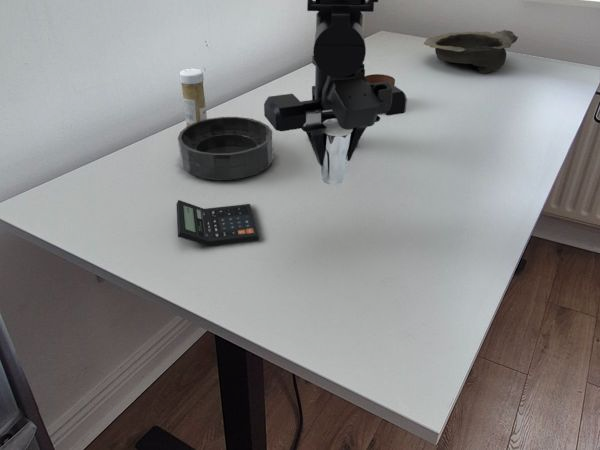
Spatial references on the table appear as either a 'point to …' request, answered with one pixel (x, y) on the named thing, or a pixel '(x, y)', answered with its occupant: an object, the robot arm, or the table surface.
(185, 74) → the sprinkles bottle
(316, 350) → the table surface
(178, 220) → the calculator
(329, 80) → the robot arm
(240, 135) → the dark round bowl
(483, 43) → the stone bowl
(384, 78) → the cup and saucer
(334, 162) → the milkshake
